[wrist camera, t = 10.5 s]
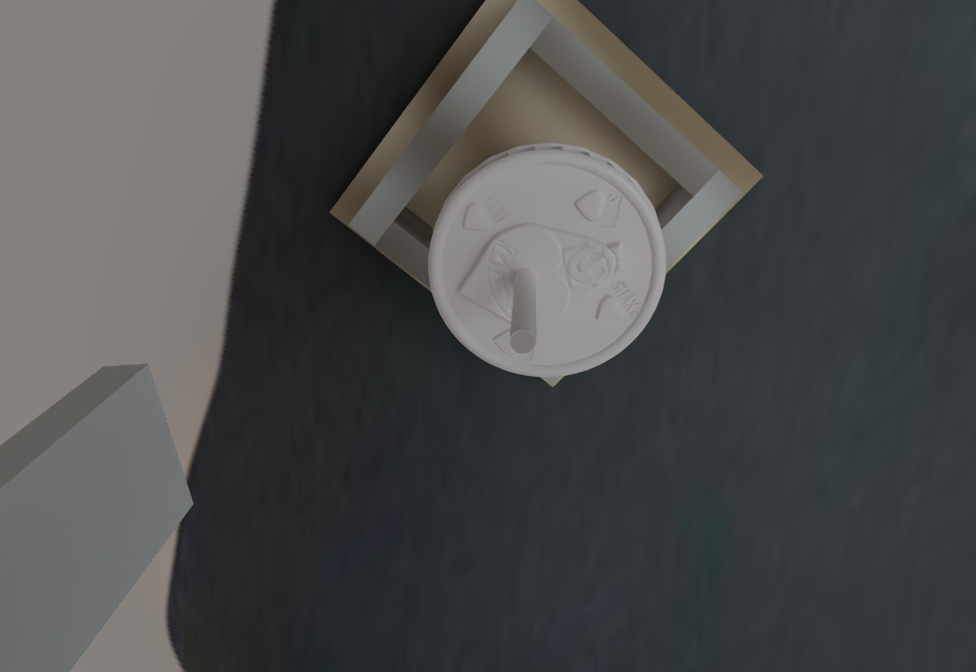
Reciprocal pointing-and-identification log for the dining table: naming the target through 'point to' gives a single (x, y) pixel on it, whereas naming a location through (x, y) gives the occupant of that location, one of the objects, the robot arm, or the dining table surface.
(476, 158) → the tray
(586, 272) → the smoothie
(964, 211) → the dining table surface
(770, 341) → the dining table surface
